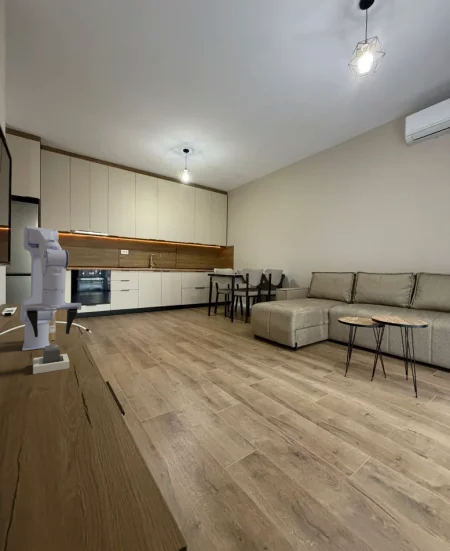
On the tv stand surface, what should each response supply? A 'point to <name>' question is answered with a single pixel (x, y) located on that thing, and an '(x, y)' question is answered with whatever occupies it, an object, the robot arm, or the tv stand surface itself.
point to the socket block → (50, 364)
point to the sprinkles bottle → (52, 328)
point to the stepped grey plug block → (51, 354)
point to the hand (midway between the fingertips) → (52, 334)
